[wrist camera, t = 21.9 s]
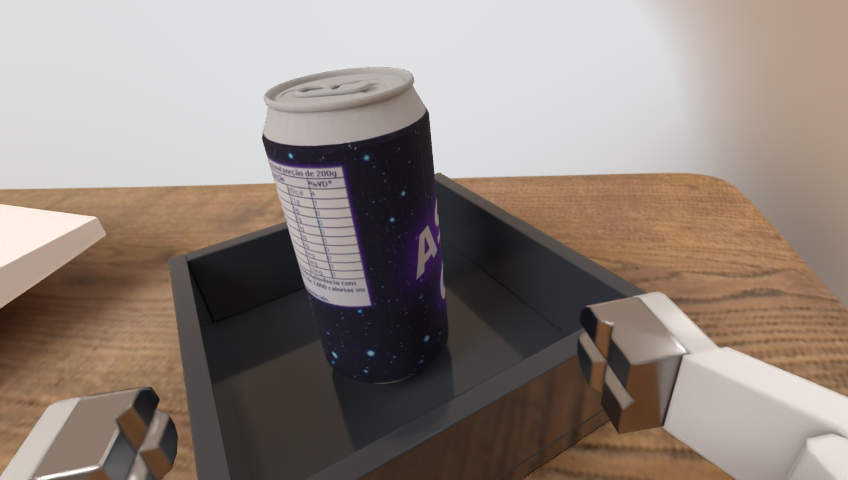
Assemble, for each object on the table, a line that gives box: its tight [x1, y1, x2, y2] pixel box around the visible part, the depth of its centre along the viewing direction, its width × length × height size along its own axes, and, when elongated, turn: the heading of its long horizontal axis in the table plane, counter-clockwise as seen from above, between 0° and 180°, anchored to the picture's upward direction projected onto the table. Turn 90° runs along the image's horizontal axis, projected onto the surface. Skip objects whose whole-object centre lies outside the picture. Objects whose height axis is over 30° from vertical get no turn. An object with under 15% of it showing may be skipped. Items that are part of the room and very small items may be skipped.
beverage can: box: [262, 67, 449, 384], centre depth 18 cm, size 6×6×12 cm
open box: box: [168, 173, 647, 480], centre depth 21 cm, size 16×16×5 cm
